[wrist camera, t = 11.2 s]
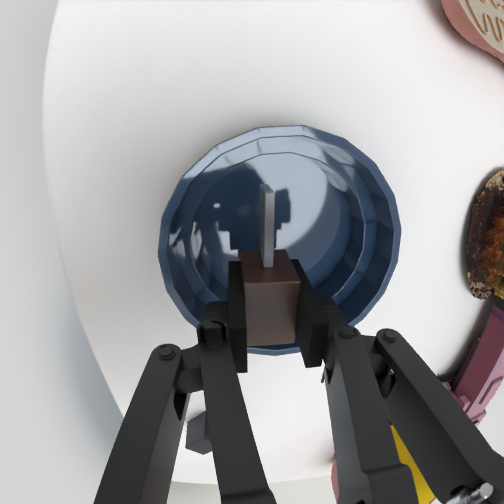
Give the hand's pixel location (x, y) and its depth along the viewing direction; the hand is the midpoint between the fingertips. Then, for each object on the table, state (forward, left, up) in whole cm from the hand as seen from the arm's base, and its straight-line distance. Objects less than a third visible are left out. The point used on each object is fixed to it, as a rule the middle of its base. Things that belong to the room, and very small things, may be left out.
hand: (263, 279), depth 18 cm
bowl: (+1, +2, -5) cm, 5 cm away
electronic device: (+36, -11, -5) cm, 38 cm away
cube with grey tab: (0, -23, -5) cm, 23 cm away
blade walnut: (0, +2, 0) cm, 2 cm away
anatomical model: (+21, +30, -5) cm, 37 cm away
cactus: (+29, +8, -5) cm, 30 cm away
